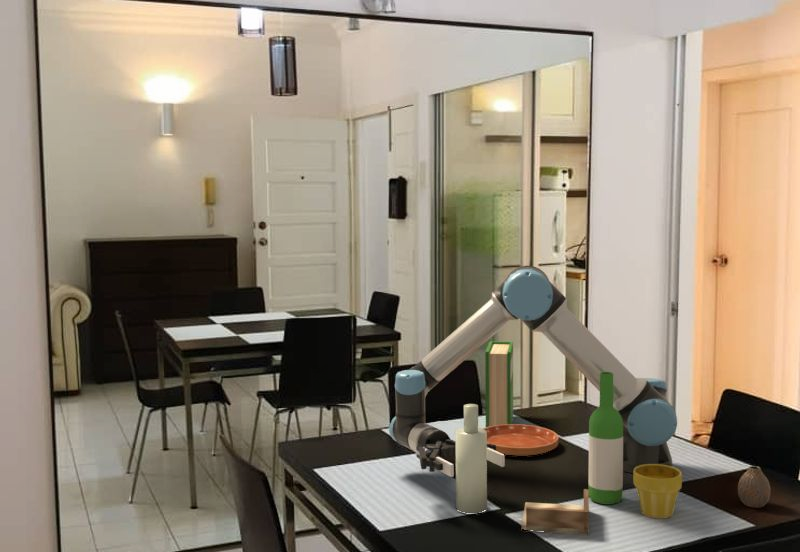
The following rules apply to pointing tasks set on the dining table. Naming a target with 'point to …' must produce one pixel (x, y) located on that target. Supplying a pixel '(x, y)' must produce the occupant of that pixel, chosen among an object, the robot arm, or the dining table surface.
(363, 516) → the dining table surface
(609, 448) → the wine bottle
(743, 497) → the vase
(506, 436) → the saucer
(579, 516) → the dock
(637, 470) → the plant pot
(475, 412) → the bottle
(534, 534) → the dining table surface
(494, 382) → the hardback book
